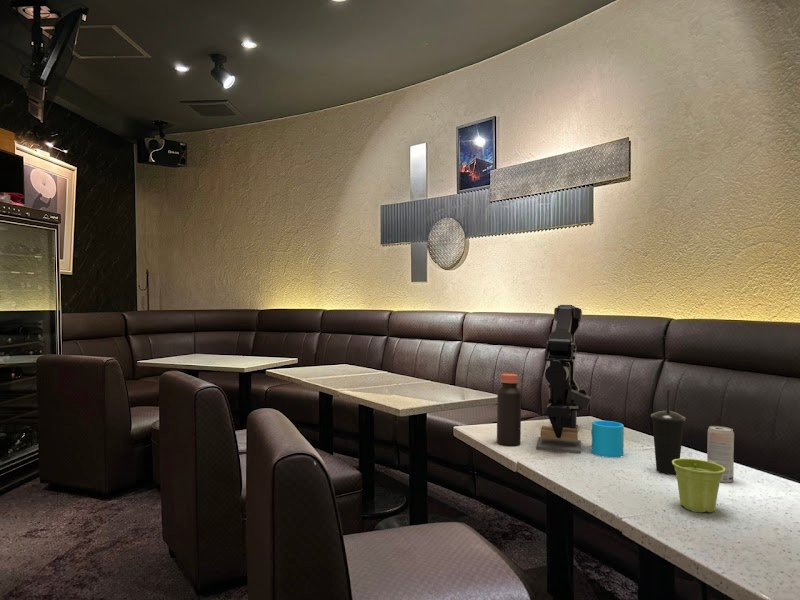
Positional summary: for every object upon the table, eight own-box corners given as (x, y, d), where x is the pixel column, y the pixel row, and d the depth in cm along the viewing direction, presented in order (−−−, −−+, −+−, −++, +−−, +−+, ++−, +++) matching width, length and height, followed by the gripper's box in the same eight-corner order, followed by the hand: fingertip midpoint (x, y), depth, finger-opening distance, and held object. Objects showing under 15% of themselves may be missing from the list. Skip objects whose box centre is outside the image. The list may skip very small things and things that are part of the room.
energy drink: (729, 477, 129) (729, 426, 129) (736, 484, 124) (737, 431, 124) (704, 474, 131) (704, 425, 131) (710, 481, 125) (711, 430, 125)
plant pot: (677, 495, 116) (677, 455, 116) (728, 507, 110) (728, 464, 110) (666, 508, 108) (666, 465, 109) (720, 520, 102) (720, 475, 103)
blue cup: (629, 457, 145) (630, 426, 145) (601, 458, 144) (601, 427, 144) (605, 445, 157) (605, 417, 157) (579, 446, 155) (579, 418, 155)
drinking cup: (653, 475, 130) (654, 391, 130) (647, 465, 137) (648, 387, 137) (688, 477, 128) (689, 393, 128) (680, 468, 135) (681, 388, 135)
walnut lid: (542, 432, 160) (542, 425, 160) (577, 435, 156) (577, 428, 156) (540, 437, 153) (540, 430, 153) (577, 441, 150) (577, 433, 150)
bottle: (492, 442, 158) (492, 374, 158) (506, 439, 162) (507, 372, 162) (511, 447, 152) (512, 376, 153) (525, 443, 157) (526, 375, 157)
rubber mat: (538, 439, 162) (538, 436, 162) (580, 443, 159) (580, 440, 159) (535, 449, 151) (535, 446, 151) (581, 453, 147) (581, 450, 147)
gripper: (590, 387, 144) (589, 445, 144) (588, 378, 161) (588, 430, 161) (547, 384, 147) (546, 441, 147) (550, 375, 165) (549, 427, 165)
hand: (559, 435), depth 155 cm, fingers closed on walnut lid, 6 cm apart
